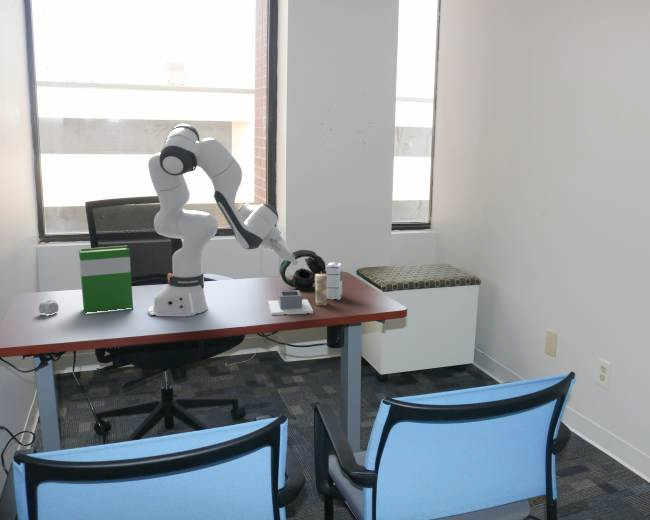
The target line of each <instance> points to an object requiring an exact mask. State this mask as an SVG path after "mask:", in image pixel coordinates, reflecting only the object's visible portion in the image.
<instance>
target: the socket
mask: <svg viewBox="0 0 650 520" xmlns="http://www.w3.org/2000/svg"><path fill="white" fill-rule="evenodd" d="M277 296H278V297H277V299H278V300H277V299H276V300H267V305H268V307H269V312H270V315H271V316H280V315H281V316H282V315H284V314H287V315H301V314H302V315H303V314H304V315H306V314H307V313H309V314H314V310H313V308H312V306H311V304H310V302H309V299H308V298H306V299H305V298H303V295H302V293H301V290H299V289H297V290H295V289H293V290H278V292H277ZM307 315H308V314H307Z"/></svg>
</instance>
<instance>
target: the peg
mask: <svg viewBox="0 0 650 520" xmlns="http://www.w3.org/2000/svg"><path fill="white" fill-rule="evenodd" d="M314 277H315V278H314V281H315V282H314V284H315V285H314V287H315V288H314V289H315V290H314V291H315V292H314V294H315V295H314V296H315V298H314V304H315V305H316V306H327V302H328V301H327V300H328V299H327V276H326V274H322V273H321V274H315V275H314Z"/></svg>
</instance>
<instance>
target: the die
mask: <svg viewBox="0 0 650 520" xmlns="http://www.w3.org/2000/svg"><path fill="white" fill-rule="evenodd" d="M59 308H60V307H59V304H58V302H57V301H55V300H54V299H46V300H42V301H40V303H39V305H38V312H39V313H45V314H52V313H55V312H57V313H58V312H59Z"/></svg>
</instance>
